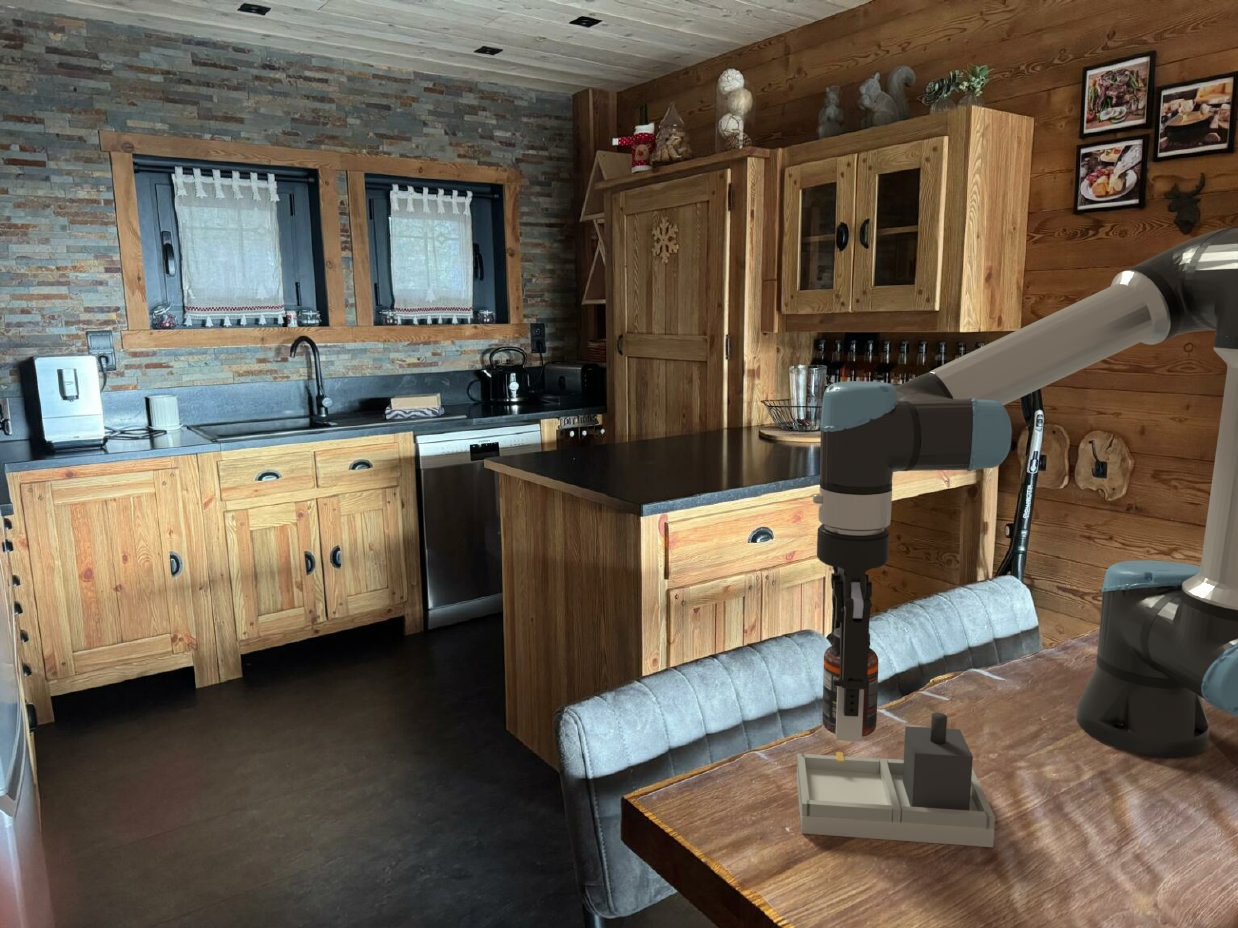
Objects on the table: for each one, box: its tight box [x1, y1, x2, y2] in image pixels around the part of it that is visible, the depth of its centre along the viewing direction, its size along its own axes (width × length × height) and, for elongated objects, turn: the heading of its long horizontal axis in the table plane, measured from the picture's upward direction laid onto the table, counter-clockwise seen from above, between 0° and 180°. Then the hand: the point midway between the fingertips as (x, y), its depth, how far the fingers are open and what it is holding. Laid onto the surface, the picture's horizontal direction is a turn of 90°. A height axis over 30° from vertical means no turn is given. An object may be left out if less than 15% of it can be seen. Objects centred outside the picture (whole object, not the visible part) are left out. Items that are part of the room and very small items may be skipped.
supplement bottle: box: [821, 628, 879, 738], centre depth 97 cm, size 6×6×11 cm
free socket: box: [796, 751, 892, 822], centre depth 100 cm, size 10×11×2 cm
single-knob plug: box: [903, 712, 974, 811], centre depth 97 cm, size 6×6×10 cm
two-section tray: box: [796, 757, 996, 848], centre depth 99 cm, size 20×11×4 cm, turn 82°
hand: (845, 723), depth 98 cm, fingers closed on supplement bottle, 6 cm apart
